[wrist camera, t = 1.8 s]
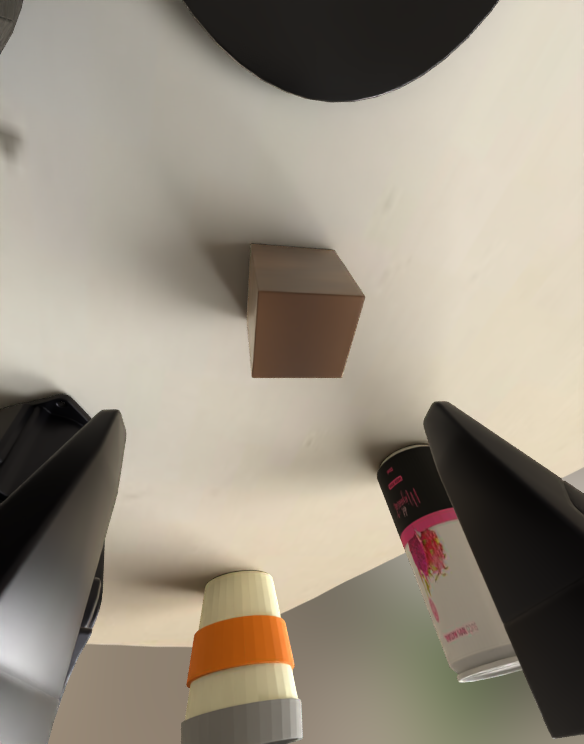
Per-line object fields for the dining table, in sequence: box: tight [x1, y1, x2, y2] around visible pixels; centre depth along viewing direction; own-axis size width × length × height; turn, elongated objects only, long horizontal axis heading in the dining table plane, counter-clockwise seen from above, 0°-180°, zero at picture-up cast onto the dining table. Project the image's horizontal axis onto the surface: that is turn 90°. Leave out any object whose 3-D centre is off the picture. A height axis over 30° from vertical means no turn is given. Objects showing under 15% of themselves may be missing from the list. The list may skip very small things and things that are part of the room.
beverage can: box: [377, 445, 522, 682], centre depth 27 cm, size 7×7×15 cm
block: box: [247, 244, 365, 378], centre depth 17 cm, size 4×4×5 cm
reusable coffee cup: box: [181, 571, 303, 744], centre depth 40 cm, size 13×12×15 cm
